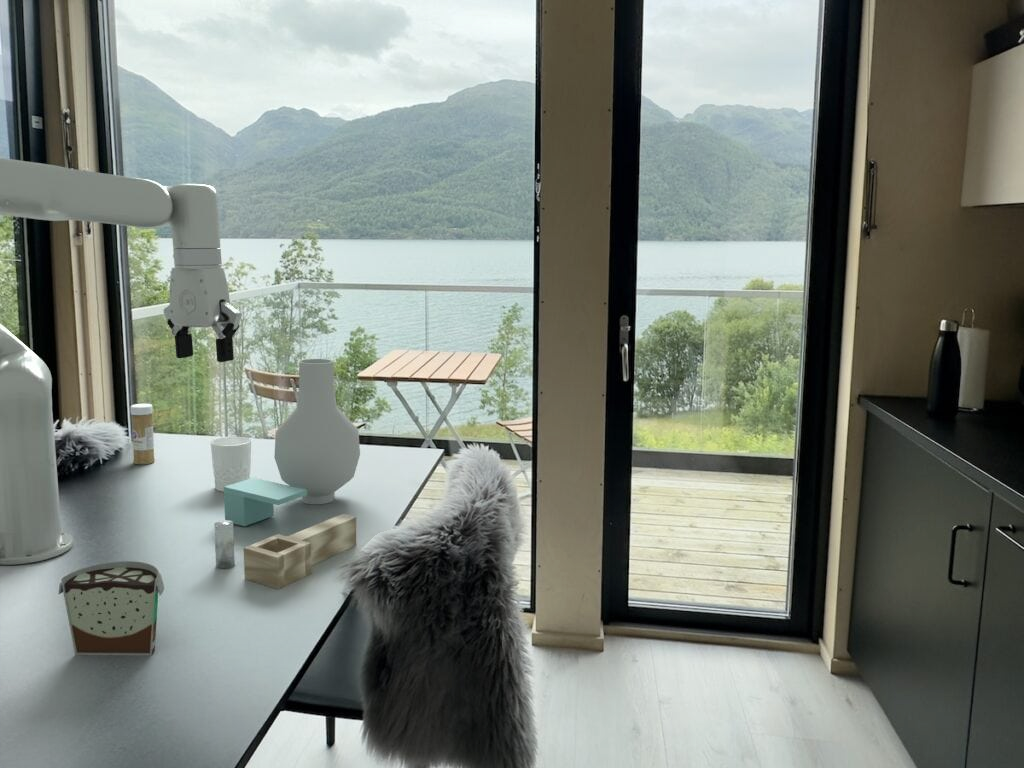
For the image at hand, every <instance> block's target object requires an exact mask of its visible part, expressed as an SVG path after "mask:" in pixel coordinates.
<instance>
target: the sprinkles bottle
mask: <svg viewBox="0 0 1024 768" xmlns="http://www.w3.org/2000/svg"><path fill="white" fill-rule="evenodd" d="M153 413H154V411H153V404H151V403H137V404H136V403H134V404H132V405H131V406H130V414H131V426H132V429H131V430H132V431H131V432H132V433H131V434H132V449H133V464H135V465H141V466H142V465H149V464H152V463H155V462H156V460H155V459H156V458H155V451H154V450H155V443H154V426H153Z"/></svg>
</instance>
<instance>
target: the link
mask: <svg viewBox="0 0 1024 768" xmlns="http://www.w3.org/2000/svg"><path fill="white" fill-rule="evenodd" d="M356 546H357V516H354V515H353V516H352V515H349V514H344V513H341V514H339V515H336V516H334V517H331V518H328V519H326V520H325V521H322V522H320V523H317V524H314V525H312V526H310V527H307V528H305V529H302V530H300V531H297V532H295V533H293V534H290V535H288V536H286V535H284V534H283V535H282V534H281V533H277V534H275V535H273V536H270V537H267V538H265V539H262V540H259V541H258V542H254V543H253V544H250V545H247V546H245V547H243V568H244V569H243V570H244V580H247V581H250V582H254V583H257V584H260V585H263V586H266V587H269V588H273V589H276V590H280V589H283V588H284V587H286V586H288V585H291V584H293V583H294V582H296V581H298V580H300V579H303V578H305V577H307V576H309V575H311V574H312V567H313V566H315V565H317V564H319V563H321V562H323V561H325V560H327V559H330V558H332V557H334V556H336V555H338V554H340V553H342V552H345V551H347V550H349V549H351V548H353V547H356Z"/></svg>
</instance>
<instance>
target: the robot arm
mask: <svg viewBox="0 0 1024 768" xmlns="http://www.w3.org/2000/svg"><path fill="white" fill-rule="evenodd" d="M0 216H9V217H15V218H16V217H17V218H25V219H33V220H41V221H52V222H61V221H78V222H93V223H100V224H101V223H102V224H108V225H109V224H110V225H116V226H117V225H118V226H125V227H134V228H137V229H142V230H151V229H157V228H165V227H171V236H172V252H173V255H172V258H173V263H174V267H171V272H170V276H169V277H170V278H169V305H168V306H166V307H165V308H163V314H164V316H165V318H166V320H167V325H168V327H169V328H170V329H171V334H172V336H174V343H175V357H176V358H177V359H183V358H190V357H193V356H194V346H193V345H194V344H193V334H192V333H190V331H191V329H192V328H210V327H211V328H212V329H213V331H214V332H215V334H216V336H217V338H215V349H216V361H217V363H226V362H230V361H234V359H235V355H234V342H233V338H235V337H236V332H237V331H238V330H239V327H240V323H241V319H242V316H243V314H242V312H241V311H239V310H238V309H236V307H234V306H232V305H231V301H230V293H229V286H228V282H227V277H226V273H225V269H224V267H223V265H222V261H223V260H222V249H221V232H220V218H219V217H220V216H219V203H218V194H217V191H216V189H215V188H214V187H213V186H211V185H207V184H201V183H200V184H198V183H181V184H174V185H172V186H167V185H161V184H160V183H158V182H156V181H153V180H150V179H145V178H138V177H137V178H136V177H131V176H125V175H117V174H110V173H102V172H96V171H88V170H81V169H75V168H69V167H65V166H60V165H54V164H47V163H41V162H34V161H25V160H20V159H12V158H4V157H0ZM51 373H52V372H51V370H50V369H49V367H48V366H47V364H46V363H45V361H44V360H43V359H42V358H41V357H39V355H37V354H36V353H35V352H34V351H32V350H31V349H30V348H29V346H27V345H26V344H25V343H23V341H21V340H20V339H19V338H17V336H16V335H14V334H13V333H12V332H11V331H10V330H8V329H7V328H6V327H5V326H4V325H2V324H1V323H0V565H5V566H7V565H24V564H25V565H26V564H32V563H36V562H42V561H46V560H49V559H53V558H55V557H58V556H61V555H62V554H64V553H66V552H68V551H69V550H70V549H71V548H72V547H73V544H74V538H73V536H72V535H71V534H70V533H67V532H64V531H62V521H61V510H60V509H61V508H60V496H59V495H60V494H59V482H58V481H59V480H58V469H57V467H58V466H57V454H56V442H55V431H54V430H55V429H54V418H53V417H54V415H53V397H52V396H53V395H52V394H53V393H52V389H53V387H52V386H53V377H52V374H51Z"/></svg>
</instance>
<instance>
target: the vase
mask: <svg viewBox="0 0 1024 768" xmlns="http://www.w3.org/2000/svg"><path fill="white" fill-rule="evenodd" d="M334 372H335V371H334V360H333V359H328V358H308V359H307V358H306V359H301V360H298V375H299V376H298V379H299V381H298V382H299V385H298V393H297V402H296V408H295V409H294V410H293V411H292V412H291V414H289V416H288V417H287V418H286V419H285V420H284V421H283V422H282V424H281V425H280V426H279V427H278V428H277V429H276V430H275V437H274V438H275V439H274V461H275V464H276V466H277V469H278V472H279V475H280V479H281V482H282V481H283V483H285V485H288V486H293V487H297V488H301V489H306V490H307V495H306V496H303V497H301V499H302V500H301V501H302V502H303V503H305V504H308V505H325V504H328V503H329V504H330V503H331V502H334V500H335V497H336V495H335V493H336V492H337V491H339V489H340V488H342V487H344V486H345V485H346V484H347V483H349V482H350V481H351V480H352V479H353V478H354V477H355V474H356V471H357V466H358V464H359V463H358V462H359V460H360V457H361V449H360V447H361V446H360V436H359V429H358V427H357V426H356V425H355V424H354V423H353V422H352V421H351V420H350V419H349V418H348V417H347V416H346V415H345V414H344V412H342V410H340V409H339V408H338V405H337V397H336V391H335V385H334V383H335V382H334V381H335V380H334V379H335V377H334V375H335V374H334Z"/></svg>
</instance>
